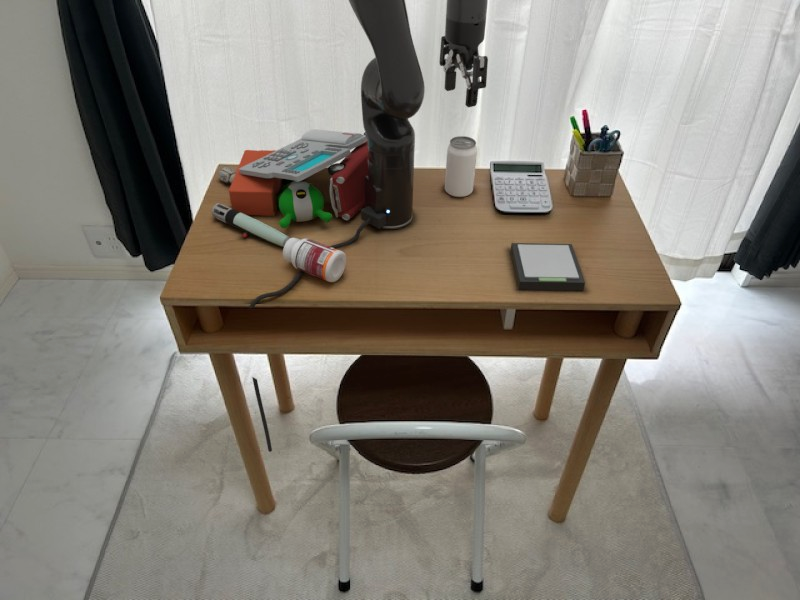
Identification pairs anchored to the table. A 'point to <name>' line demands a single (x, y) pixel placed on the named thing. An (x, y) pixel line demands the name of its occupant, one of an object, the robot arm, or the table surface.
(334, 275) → the pill bottle
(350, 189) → the toy car
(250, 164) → the office telephone
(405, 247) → the table surface
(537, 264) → the scale
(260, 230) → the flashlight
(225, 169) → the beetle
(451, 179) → the can
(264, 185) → the brick
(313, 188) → the toy
